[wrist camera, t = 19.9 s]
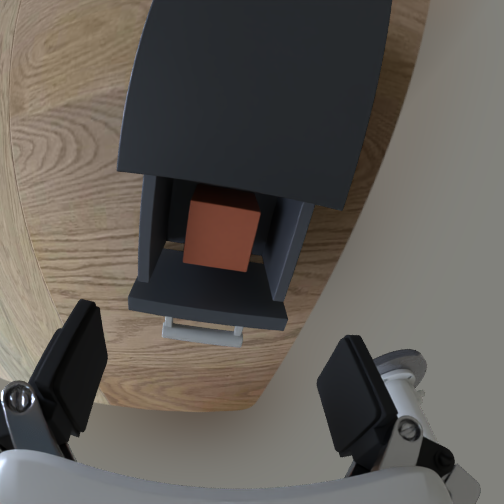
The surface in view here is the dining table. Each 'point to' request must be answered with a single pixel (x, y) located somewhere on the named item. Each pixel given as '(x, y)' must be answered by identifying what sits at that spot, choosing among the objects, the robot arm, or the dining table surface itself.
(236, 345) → the dark grey drawer
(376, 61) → the drawer cabinet
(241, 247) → the block
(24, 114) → the dining table surface
